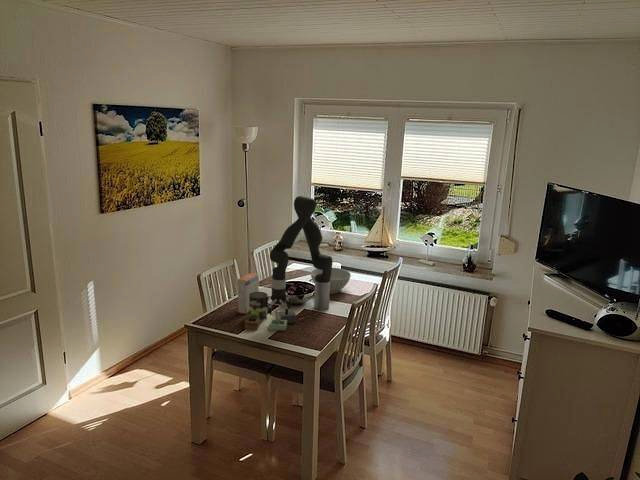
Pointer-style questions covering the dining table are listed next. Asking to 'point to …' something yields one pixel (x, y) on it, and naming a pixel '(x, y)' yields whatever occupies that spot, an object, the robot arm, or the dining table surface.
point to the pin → (278, 317)
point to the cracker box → (246, 291)
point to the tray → (278, 325)
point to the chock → (289, 316)
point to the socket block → (252, 323)
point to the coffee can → (257, 305)
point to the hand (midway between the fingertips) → (278, 314)
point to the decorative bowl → (334, 278)
